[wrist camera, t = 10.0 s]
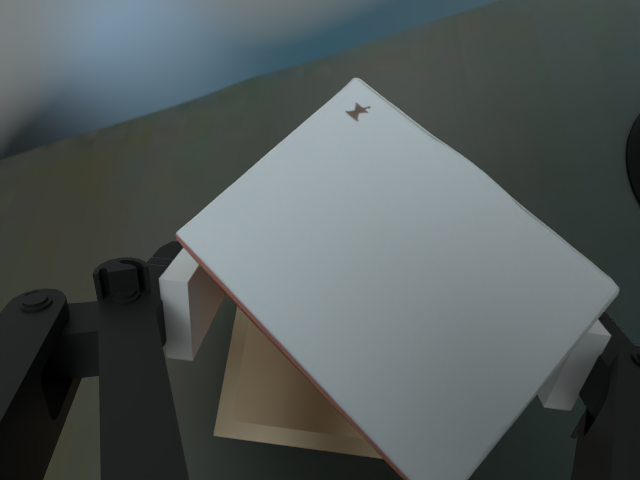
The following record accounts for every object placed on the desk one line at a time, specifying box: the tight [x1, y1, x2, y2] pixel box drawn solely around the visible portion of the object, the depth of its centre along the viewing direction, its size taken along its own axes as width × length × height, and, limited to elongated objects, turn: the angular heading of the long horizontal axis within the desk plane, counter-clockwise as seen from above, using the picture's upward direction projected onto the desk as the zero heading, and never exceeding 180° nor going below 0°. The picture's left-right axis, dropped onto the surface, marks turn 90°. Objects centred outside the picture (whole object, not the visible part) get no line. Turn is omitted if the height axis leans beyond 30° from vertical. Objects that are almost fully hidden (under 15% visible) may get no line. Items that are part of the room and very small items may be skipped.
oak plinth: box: [213, 306, 383, 459], centre depth 24 cm, size 12×12×4 cm
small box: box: [176, 78, 619, 480], centre depth 15 cm, size 8×6×13 cm
